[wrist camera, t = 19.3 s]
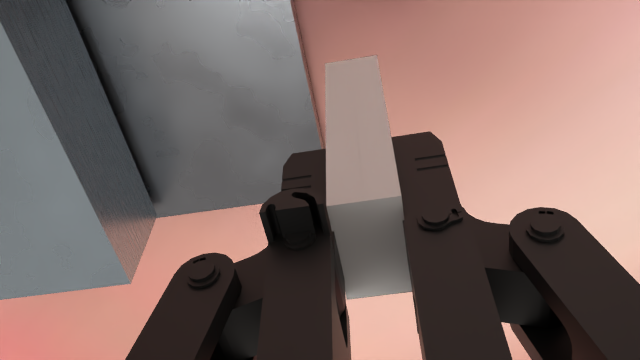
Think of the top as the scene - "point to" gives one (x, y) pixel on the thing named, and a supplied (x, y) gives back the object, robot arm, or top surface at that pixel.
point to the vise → (204, 94)
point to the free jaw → (62, 163)
